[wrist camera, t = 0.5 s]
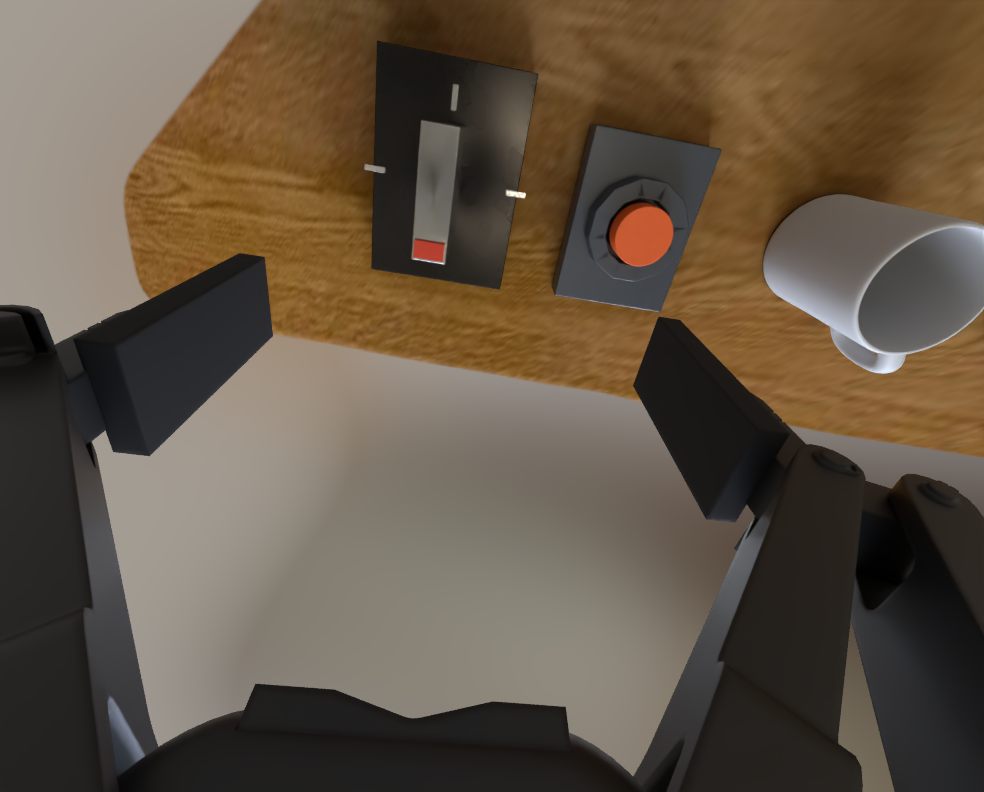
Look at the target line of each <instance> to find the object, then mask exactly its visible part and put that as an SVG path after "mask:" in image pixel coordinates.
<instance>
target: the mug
mask: <svg viewBox="0 0 984 792" xmlns="http://www.w3.org/2000/svg"><path fill="white" fill-rule="evenodd" d="M763 271H764V276H765V280H766V282H767V284H768V286H769V287H770V288H771V290H772V291H773V292H774V293H775V294H776V295H778V296H779V297H781V298H782V299H784V300H786V301H787V302H789V303H791V304H793V305H795V306H797V307H798V308H800V309H802V310H804V311H805V312H807V313H809V314H810V315H812V316H814V317H815V318H817V319H819V320H820V321H822V322H824V323H825V324H827V325H828V326H830V331H831V336H832V339H833V341H834V343H835V345H836V346H837V348H838V349H839V350H840V351H841V352H842V353H843V354H844V355H845V356H846V357H847V358H848V359H850V360H851V361H853V362H854V363H856V364H857V365H859V366H861V367H862V368H864V369H867V370H869V371H872V372H875V373H890V372H893V371H896V370H897V369H899V368H900V367H901V366H902V364H903V363H904V360H905V357H906V354H910V353H914V352H918V351H922V350H925V349H927V348H930V347H932V346H935V345H937V344H939V343H941V342H943V341H945V340H947V339H948V338H950V337H952V336H953V335H955V334H956V333H958V332H959V331H961V330H962V329H963V328H965V327H966V326H967V325H968V324H969V323H970V322H972V321H973V320H974V319H975V318H976V317H977V316H978V315H979V314H980V313H981V312H982V310H983V309H984V225H982V224H980V223H976V222H973V221H969V220H965V219H960V218H955V217H950V216H945V215H941V214H936V213H931V212H926V211H921V210H916V209H912V208H907V207H902V206H897V205H892V204H887V203H883V202H878V201H873V200H869V199H865V198H861V197H857V196H853V195H844V194H834V195H828V196H824V197H820V198H817V199H814V200H812V201H810V202H808V203H806V204H804V205H802V206H801V207H799V208H798V209H796V210H795V211H794V212H793V213H791V214H790V215H789V216H788V217H787V218H786V219H785V220H784V221H783V222H782V223H781V224H780V226H779V227H778V228H777V229H776V231H775V232H774V234H773V235H772V237H771V239H770V241H769V243H768V246H767V248H766V251H765V255H764V261H763ZM868 349H869V350H872V351H874V352H877V353H878V355H876V354H874V353H872V352H871V351H869V350H868Z"/></svg>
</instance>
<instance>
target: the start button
mask: <svg viewBox="0 0 984 792" xmlns="http://www.w3.org/2000/svg"><path fill="white" fill-rule="evenodd" d="M609 239H610V244H611V247H612V249H613V250H614V252H615V253H616V254H617V255H618V256H619V257H620V258H621V259H622V260H623V261H624V262H626V263H627V264H629V265H633V266H646V265H649V264H651V263H654V262H655V261H657V260H658V259H660V258H661V257H662V256H663V255H664V254H665V253H666V251H667V250H668V248H669V246H670V244H671V242H672V239H673V224H672V221H671V219H670V217H669V215H668V214H667V213H666V212H665V211H663V210H662V209H660V208H658V207H656V206H654V205H652V204H650V203H644V202H640V203H634V204H631V205H629V206H627V207H626V208H624V209H623V210H622V211H621V212H620V213H618V215H617V216H616V217H615V219H614V221H613V223H612V225H611V228H610V233H609Z"/></svg>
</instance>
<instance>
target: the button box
mask: <svg viewBox="0 0 984 792" xmlns="http://www.w3.org/2000/svg"><path fill="white" fill-rule="evenodd" d="M720 153H721V149H719V148H714V147H709V146H704V145H699V144H694V143H688V142H683V141H678V140H673V139H668V138H663V137H658V136H653V135H648V134H643V133H638V132H633V131H628V130H623V129H618V128H612V127H607V126H602V125H594V124H592V125H590V128H589V132H588V137H587V141H586V145H585V149H584V153H583V158H582V162H581V166H580V170H579V174H578V178H577V183H576V187H575V191H574V195H573V199H572V204H571V208H570V212H569V216H568V220H567V224H566V229H565V233H564V237H563V241H562V245H561V250H560V254H559V258H558V262H557V266H556V270H555V275H554V279H553V283H552V289H553V291H554V294H555V295H557V296H564V297H570V298H576V299H582V300H588V301H595V302H601V303H607V304H613V305H619V306H626V307H632V308H638V309H644V310H650V311H657V312H660V311H661V309H662V306H663V303H664V301H665V298H666V295H667V293H668V290H669V288H670V285H671V282H672V280H673V277H674V274H675V272H676V269H677V266H678V264H679V261H680V259H681V256H682V253H683V251H684V248H685V245H686V243H687V240H688V237H689V235H690V232H691V230H692V227H693V224H694V222H695V219H696V216H697V214H698V211H699V209H700V206H701V203H702V201H703V198H704V195H705V193H706V190H707V187H708V185H709V182H710V180H711V177H712V174H713V172H714V169H715V166H716V164H717V161H718V158H719V156H720ZM640 202H644V203H650V204H652V205H654V206H656V207H658V208H660V209H662V210H663V211H665V212H666V213H667V214H668V215H669V217H670V219H671V221H672V224H673V239H672V242H671V244H670V246H669V248H668V250H667V251H666V253H665V254H664V255H663V256H662V257H661V258H660V259H658V260H657V261H655V262H654V263H651V264H649V265H646V266H633V265H629V264H627V263H626V262H624V261H623V260H622V259H621V258H620V257H619V256H618V255H617V254H616V253H615V252H614V250H613V249H612V247H611V244H610V239H609V233H610V228H611V225H612V223H613V221H614V219H615V217H616V216H617V215H618V213H620V212H621V211H622V210H623V209H624V208H626V207H627V206H629V205H631V204H634V203H640Z"/></svg>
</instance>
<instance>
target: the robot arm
mask: <svg viewBox="0 0 984 792" xmlns="http://www.w3.org/2000/svg"><path fill="white" fill-rule="evenodd" d="M272 336H273V333H272V323H271V314H270V304H269V295H268V285H267V276H266V266H265V257H261V256H254V255H248V254H241V253H239V254H237V255H235V256H233V257H231V258H230V259H228V260H226V261H224V262H222V263H220V264H218V265H216V266H214V267H212V268H210V269H208V270H206V271H204V272H202V273H200V274H198V275H196V276H195V277H193V278H191V279H189V280H187V281H185V282H183V283H181V284H179V285H177V286H175V287H173V288H171V289H169V290H167V291H165V292H163V293H161V294H160V295H158V296H156V297H154V298H152V299H150V300H148V301H146V302H144V303H142V304H140V305H138V306H136V307H134V308H132V309H131V310H127V311H123V312H120V313H117V314H115V315H113V316H111V317H109V318H107V319H105V320H103V321H101V323H97V324H95V325H93V326H91V327H89V328H88V330H83V331H81V332H79V333H77V334H75V335H73V336H71V337H69V338H67V339H65V340H63V341H61V342H59V343H57V344H55V345H54V342H53V340H52V337H51V334H50V332H49V329H48V327H47V324H46V321H45V319H44V316H43V314H42V313H41V312H40V310H39V309H35V308H32V307H29V306H19V305H0V792H862V787H863V784H862V771H861V766H860V764H859V762H858V760H857V758H856V756H855V755H853V754H852V753H850V752H849V751H848V750H846V749H845V748H843V747H842V746H841V745H839V744H838V732H839V722H840V714H841V704H842V695H843V686H844V676H845V666H846V657H847V648H848V639H849V629H850V620H851V621H852V625H853V629H854V633H855V637H856V641H857V645H858V649H859V653H860V657H861V661H862V665H863V669H864V673H865V676H866V680H867V685H868V688H869V692H870V696H871V700H872V704H873V708H874V712H875V716H876V720H877V724H878V728H879V731H880V736H881V740H882V743H883V747H884V751H885V755H886V759H887V763H888V767H889V771H890V775H891V779H892V783H893V787H894V791H895V792H984V517H983V516H982V515H981V513H980V512H979V510H978V509H977V508H976V507H975V506H974V505H973V504H972V503H971V502H970V500H968V499H967V498H966V497H964V496H963V495H961V494H960V493H959V491H958V490H956V489H955V488H953V487H951V486H948V484H946V483H943V482H941V481H935V480H933V479H930V478H928V477H924V476H920V475H916V474H906V475H904V476H902V477H901V479H900V480H899V481H898V482H897V483H896V485H895V486H894V487H893V488H892V489H890V488H887V487H884V486H881V485H877V484H874V483H871V482H868V481H865V479H866V478H865V475H864V472H863V471H862V470H861V469H860V468H859V467H858V466H857V464H855V463H854V462H852V461H851V460H849V459H848V458H847V457H845V456H843V455H841V454H839V453H838V452H835V451H833V450H830V449H827V448H825V447H822V446H817V445H812V444H809V445H806V444H805V443H804V442H803V441H802V440H801V439H800V438H799V437H798V436H797V435H796V434H795V433H794V432H793V431H792V430H791V429H790V427H789V426H788V425H787V424H786V423H785V422H782V419H781V418H780V417H779V416H778V415H777V414H776V413H773V412H774V411H773V410H772V409H771V408H770V407H769V406H768V405H767V404H766V403H765V402H764V401H763V400H761V399H760V398H758V397H757V396H755V395H753V394H752V393H750V392H749V391H748V390H747V389H746V388H745V387H744V386H743V385H742V384H741V383H740V382H739V381H738V380H737V379H736V378H735V376H734V375H733V374H732V373H731V372H730V371H729V370H728V369H727V368H726V367H725V366H724V365H723V364H722V363H721V362H720V361H719V360H718V359H717V358H716V357H715V356H714V355H713V354H712V353H711V352H710V351H709V350H708V349H707V348H706V347H705V345H704V344H703V343H702V342H701V341H700V340H699V339H698V338H697V337H696V336H695V335H694V334H693V333H692V332H691V331H690V330H689V329H688V328H687V327H686V326H685V325H684V324H683V323H682V322H681V321H680V320H677V319H670V318H663V317H658V320H657V322H656V325H655V328H654V330H653V333H652V336H651V339H650V341H649V344H648V347H647V349H646V352H645V355H644V357H643V360H642V363H641V366H640V368H639V371H638V374H637V376H636V379H635V382H634V385H633V386H634V388H635V390H636V392H637V394H638V395H639V397H640V399H641V401H642V403H643V405H644V406H645V408H646V410H647V412H648V414H649V416H650V417H651V419H652V421H653V423H654V425H655V426H656V428H657V430H658V432H659V434H660V436H661V438H662V439H663V441H664V443H665V445H666V447H667V448H668V450H669V452H670V454H671V456H672V458H673V459H674V461H675V463H676V465H677V467H678V468H679V470H680V472H681V474H682V476H683V478H684V479H685V481H686V483H687V485H688V487H689V488H690V490H691V492H692V494H693V496H694V498H695V500H696V501H697V503H698V505H699V507H700V509H701V511H702V512H703V514H704V516H705V518H706V519H709V520H718V521H726V522H736V520H737V519H738V517H739V516H740V514H741V512H742V511H743V509H744V507H745V506H746V504H747V505H748V506H749V508H750V509H751V511H752V512H753V514H754V515H755V517H754V519H753V520H752V522H751V523H750V525H749V526H748V528H747V530H746V531H745V533H744V534H743V536H742V537H741V539H740V540H739V542H738V544H737V545H736V547H735V548H734V549H735V550H737V553H736V555H735V557H734V560H733V562H732V564H731V566H730V568H729V570H728V573H727V575H726V577H725V580H724V582H723V584H722V586H721V588H720V590H719V593H718V595H717V597H716V600H715V602H714V604H713V606H712V608H711V611H710V613H709V615H708V617H707V619H706V622H705V624H704V626H703V628H702V631H701V633H700V635H699V637H698V640H697V642H696V644H695V646H694V648H693V651H692V653H691V655H690V657H689V660H688V662H687V664H686V666H685V669H684V671H683V673H682V675H681V678H680V680H679V682H678V684H677V686H676V689H675V691H674V693H673V695H672V698H671V700H670V702H669V704H668V707H667V709H666V711H665V713H664V715H663V718H662V720H661V722H660V724H659V727H658V729H657V731H656V733H655V736H654V738H653V740H652V742H651V745H650V747H649V749H648V751H647V753H646V755H645V757H644V759H643V760H642V762H641V764H640V766H639V767H638V769H637V771H636V773H635V774H634V776H632V775H631V774H630V773H629V772H628V771H626V770H625V769H624V768H623V767H622V766H621V765H620V764H619V763H618V762H616V761H615V760H614V759H613V758H612V757H610V756H609V755H607V754H606V753H605V752H603V751H602V750H600V749H599V748H598V747H596V746H595V745H593V744H591V743H589V742H587V741H586V740H583V739H582V738H580V737H578V736H576V735H573V734H571V733H569V730H568V722H567V714H566V707H558V706H546V705H531V704H519V703H506V702H489V703H484V704H480V705H475V706H471V707H466V708H462V709H458V710H453V711H449V712H444V713H440V714H435V715H431V716H426V717H422V718H413V719H412V718H406V717H403V716H401V715H398V714H396V713H393V712H391V711H388V710H385V709H383V708H380V707H378V706H375V705H372V704H370V703H367V702H365V701H362V700H360V699H357V698H355V697H352V696H349V695H347V694H344V693H342V692H339V691H336V690H331V689H318V688H305V687H291V686H278V685H265V684H255V686H254V689H253V691H252V693H251V696H250V698H249V700H248V703H247V705H246V707H245V710H243V711H237V712H233V713H230V714H227V715H224V716H221V717H218V718H215V719H212V720H209V721H207V722H205V723H203V724H201V725H198V726H196V727H194V728H192V729H189V730H187V731H186V732H184V733H182V734H180V735H178V736H177V737H175V738H173V739H171V740H170V741H168V742H166V743H164V744H163V745H161V746H160V747H158V744H157V741H156V739H155V735H154V733H153V729H152V725H151V722H150V718H149V714H148V709H147V704H146V699H145V694H144V689H143V684H142V679H141V674H140V669H139V664H138V659H137V654H136V649H135V644H134V639H133V634H132V629H131V624H130V619H129V614H128V609H127V604H126V599H125V594H124V589H123V585H122V579H121V574H120V569H119V564H118V559H117V554H116V549H115V544H114V539H113V534H112V529H111V524H110V519H109V514H108V509H107V504H106V499H105V494H104V489H103V484H102V479H101V474H100V470H99V464H98V459H97V454H96V452H95V449H94V446H93V444H92V440H94V439H95V438H96V437H97V436H99V435H100V434H101V433H102V432H104V431H105V430H106V433H107V436H108V438H109V441H110V444H111V447H112V450H113V452H119V453H127V454H136V455H144V456H150V455H151V454H152V453H153V452H154V451H155V450H156V449H157V448H158V447H159V446H160V445H161V444H162V443H163V442H165V440H166V439H168V437H170V436H171V435H172V434H173V433H174V432H175V431H176V430H177V429H178V428H179V427H180V426H181V425H182V424H183V423H184V422H185V421H186V420H187V419H188V418H189V417H190V416H191V415H192V414H193V413H194V412H195V411H196V410H197V409H198V408H199V407H200V406H201V405H203V404H204V402H206V401H207V399H208V398H210V397H211V396H212V395H213V394H214V393H215V392H216V391H217V390H218V389H219V388H220V387H221V386H222V385H223V384H224V383H225V382H226V381H227V380H228V379H229V378H230V377H231V376H232V375H233V374H234V373H235V372H236V371H237V370H238V369H239V368H241V367H242V366H243V365H244V364H245V363H246V362H247V361H248V360H249V359H250V358H251V357H252V356H253V355H254V354H255V353H256V352H257V351H258V350H259V349H260V348H261V347H262V346H263V345H264V344H265V343H266V342H267V341H268V340H269V339H270V338H271V337H272Z"/></svg>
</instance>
